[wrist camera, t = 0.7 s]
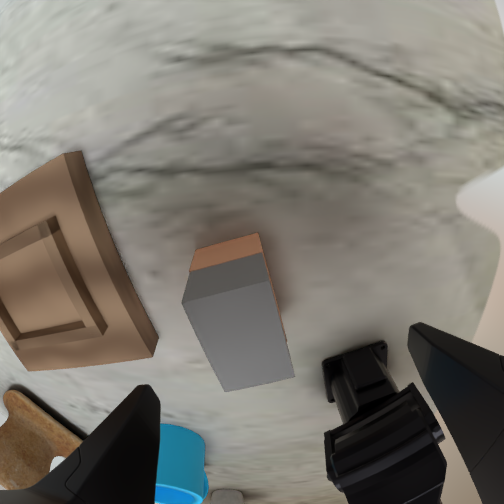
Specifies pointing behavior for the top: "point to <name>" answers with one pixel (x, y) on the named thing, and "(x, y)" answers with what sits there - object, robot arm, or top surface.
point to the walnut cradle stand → (65, 275)
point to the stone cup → (30, 442)
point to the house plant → (227, 497)
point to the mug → (180, 467)
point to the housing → (237, 314)
